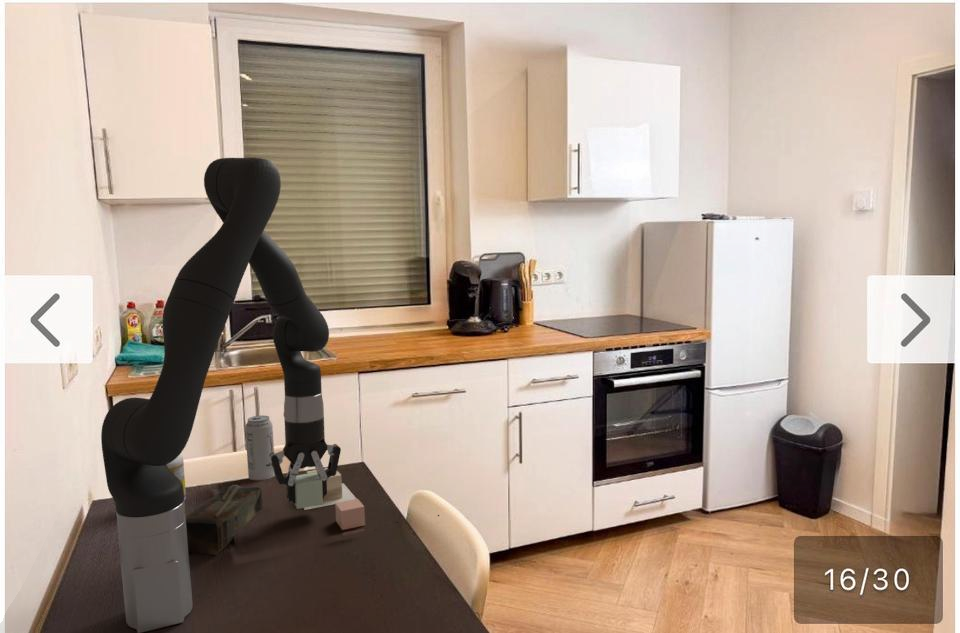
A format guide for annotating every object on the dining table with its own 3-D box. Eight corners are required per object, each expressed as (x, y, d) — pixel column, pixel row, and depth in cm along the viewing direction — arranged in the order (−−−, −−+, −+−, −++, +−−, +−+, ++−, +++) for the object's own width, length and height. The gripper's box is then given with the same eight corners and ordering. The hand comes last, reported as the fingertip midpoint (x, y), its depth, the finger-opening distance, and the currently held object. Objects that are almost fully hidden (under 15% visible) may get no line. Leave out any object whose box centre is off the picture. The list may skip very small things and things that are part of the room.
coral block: (365, 531, 132) (364, 506, 131) (342, 536, 130) (341, 511, 129) (358, 522, 136) (357, 498, 135) (336, 527, 134) (335, 503, 133)
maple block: (342, 497, 146) (341, 475, 145) (314, 503, 143) (312, 480, 143) (335, 488, 151) (334, 466, 150) (307, 493, 148) (306, 471, 148)
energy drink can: (274, 483, 158) (270, 420, 157) (247, 486, 157) (243, 422, 155) (276, 475, 164) (272, 414, 162) (250, 477, 163) (246, 415, 161)
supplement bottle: (145, 507, 146) (140, 449, 145) (168, 495, 153) (163, 439, 151) (171, 510, 144) (166, 451, 143) (193, 498, 151) (188, 441, 149)
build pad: (357, 504, 145) (357, 499, 145) (304, 515, 140) (304, 509, 140) (343, 488, 155) (343, 483, 154) (294, 497, 150) (293, 492, 150)
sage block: (322, 504, 135) (322, 479, 135) (297, 508, 133) (296, 483, 132) (317, 496, 140) (316, 472, 139) (292, 500, 137) (291, 476, 137)
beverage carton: (265, 513, 142) (263, 483, 141) (218, 557, 123) (216, 522, 122) (229, 512, 143) (226, 482, 142) (177, 556, 124) (174, 521, 123)
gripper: (269, 425, 128) (273, 513, 130) (345, 415, 134) (347, 500, 136) (263, 416, 135) (266, 500, 136) (335, 408, 141) (338, 488, 143)
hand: (307, 499), depth 136 cm, fingers closed on sage block, 5 cm apart
